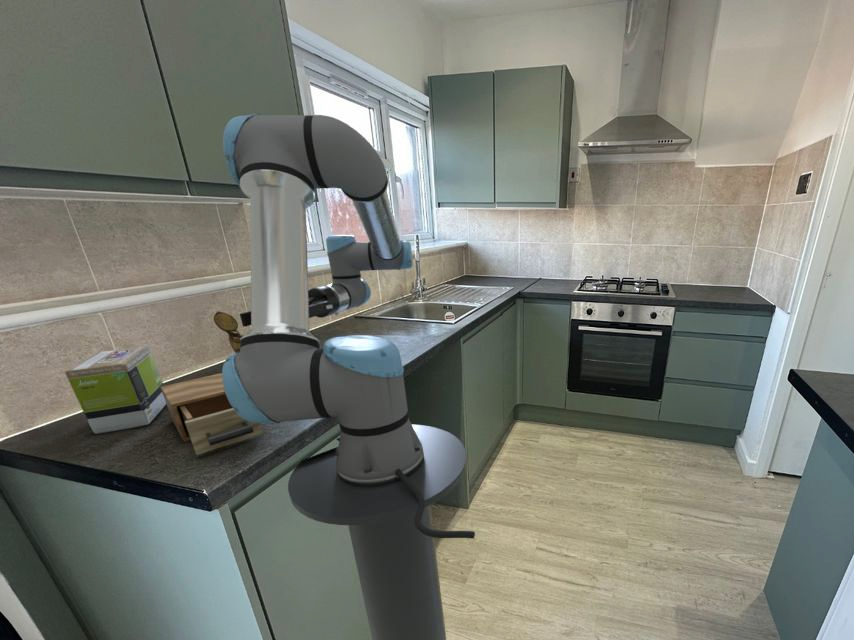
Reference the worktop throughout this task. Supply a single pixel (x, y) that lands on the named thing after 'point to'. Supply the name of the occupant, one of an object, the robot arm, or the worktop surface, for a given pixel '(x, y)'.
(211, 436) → the drawer
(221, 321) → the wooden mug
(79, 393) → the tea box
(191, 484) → the worktop surface
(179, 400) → the cabinet
